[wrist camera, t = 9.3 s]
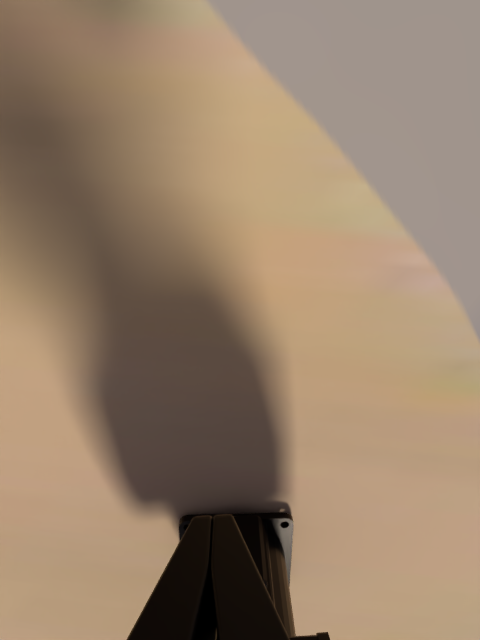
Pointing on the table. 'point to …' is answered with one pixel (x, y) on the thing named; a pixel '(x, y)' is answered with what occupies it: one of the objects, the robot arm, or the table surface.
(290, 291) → the table surface
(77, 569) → the table surface
